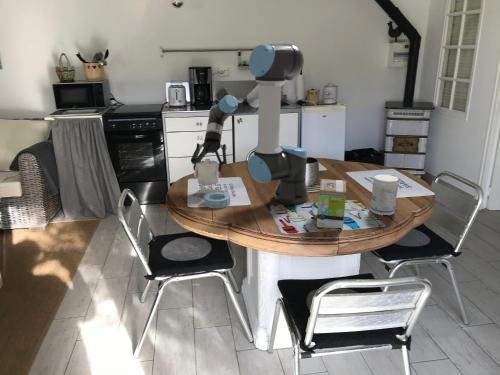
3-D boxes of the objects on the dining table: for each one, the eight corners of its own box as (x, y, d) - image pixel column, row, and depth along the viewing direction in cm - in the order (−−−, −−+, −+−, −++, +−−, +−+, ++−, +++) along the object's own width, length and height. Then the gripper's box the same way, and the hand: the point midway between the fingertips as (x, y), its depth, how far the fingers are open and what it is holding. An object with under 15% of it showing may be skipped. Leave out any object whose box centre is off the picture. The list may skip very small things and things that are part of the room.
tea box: (343, 229, 153) (346, 191, 148) (316, 227, 155) (318, 189, 150) (343, 214, 167) (346, 179, 162) (318, 212, 169) (320, 177, 164)
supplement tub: (366, 208, 174) (370, 174, 169) (388, 207, 175) (392, 173, 170) (375, 216, 165) (379, 181, 160) (398, 216, 165) (403, 180, 161)
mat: (226, 192, 192) (226, 191, 192) (213, 200, 182) (213, 199, 182) (203, 188, 197) (203, 187, 197) (190, 196, 187) (190, 195, 187)
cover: (221, 180, 190) (221, 158, 187) (211, 186, 182) (211, 162, 179) (204, 178, 194) (203, 156, 190) (194, 183, 186) (193, 160, 183)
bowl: (234, 202, 180) (234, 194, 178) (222, 210, 170) (222, 202, 169) (212, 198, 184) (212, 191, 183) (199, 206, 174) (199, 198, 173)
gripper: (237, 140, 196) (231, 182, 185) (193, 139, 199) (184, 180, 189) (235, 130, 189) (228, 173, 179) (189, 129, 192) (180, 172, 182)
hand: (206, 177), depth 184 cm, fingers closed on cover, 9 cm apart
